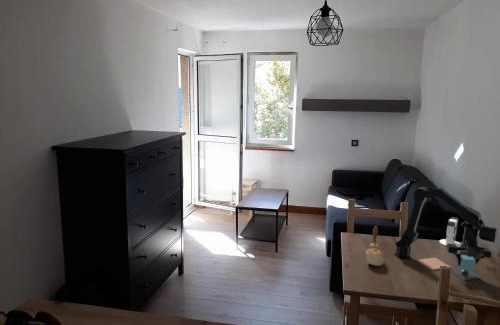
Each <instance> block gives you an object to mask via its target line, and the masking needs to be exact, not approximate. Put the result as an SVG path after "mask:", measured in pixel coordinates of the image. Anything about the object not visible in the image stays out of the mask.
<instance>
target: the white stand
mask: <svg viewBox="0 0 500 325" xmlns="http://www.w3.org/2000/svg"><path fill="white" fill-rule="evenodd" d="M458 222H459V218H458V217H454V216H451V217H450V219H448V221H447V227H446V238H445V239H444V238H443V239H442V238H441V239H440V240H439V241H438V242H439V243H440V244H441V245H442V246H445V247H446V245H447V244H455V245H456V246H457V247H462V243H460V242H458V241H456V237H457V229H458V227H459V223H458Z"/></svg>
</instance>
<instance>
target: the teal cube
mask: <svg viewBox="0 0 500 325" xmlns="http://www.w3.org/2000/svg"><path fill="white" fill-rule="evenodd" d="M475 265H476V266H477V264H476V261H475V259H474V257H468V256H467V254H466V255H465V254H461V257H460V266H458V267H459V268H460V269H461V270H467V271H472V272H476V271H475V270H476V266H475Z"/></svg>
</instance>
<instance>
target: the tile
mask: <svg viewBox="0 0 500 325" xmlns="http://www.w3.org/2000/svg"><path fill="white" fill-rule="evenodd" d="M417 262H419V264H422V265H424V266H425V267H426V268H428V269H429V270H431V271H438V270H439V269H440V266H447V267H449V269H451V268H452V266H451V265H449V264H447V263H445V262H443V261H442V260H440V259H438V258H437V257H431V258H420V259H419V258H418V259H417ZM440 270H441V269H440Z"/></svg>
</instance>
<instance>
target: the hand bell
mask: <svg viewBox="0 0 500 325" xmlns="http://www.w3.org/2000/svg"><path fill="white" fill-rule="evenodd" d="M378 234H379V230H378V226H377V225H374V227H373V229H372V237H373V238H372V242H371V243H370V244H369V248H368V249H367V250H366V251H365V254H366V255H367V252H368V251H369V250H370V249H372V248H375V249H378V250H380V249H379V245H378V244H377V237H378Z"/></svg>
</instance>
